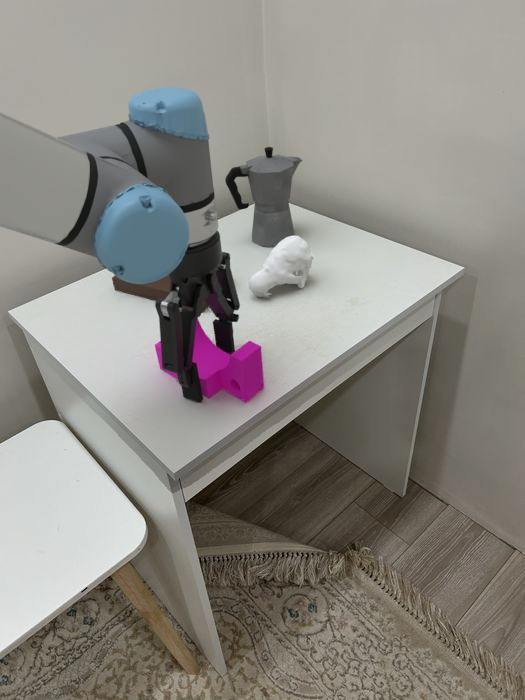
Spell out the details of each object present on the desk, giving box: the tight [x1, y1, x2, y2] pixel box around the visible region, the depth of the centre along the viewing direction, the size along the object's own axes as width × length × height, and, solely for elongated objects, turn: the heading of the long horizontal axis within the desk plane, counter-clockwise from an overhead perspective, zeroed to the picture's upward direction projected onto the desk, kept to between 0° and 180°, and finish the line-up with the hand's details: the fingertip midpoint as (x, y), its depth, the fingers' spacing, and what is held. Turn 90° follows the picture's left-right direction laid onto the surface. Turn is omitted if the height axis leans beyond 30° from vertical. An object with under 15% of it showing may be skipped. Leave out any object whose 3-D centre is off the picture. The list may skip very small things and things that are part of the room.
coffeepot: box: [224, 146, 303, 248], centre depth 104 cm, size 15×9×18 cm, turn 113°
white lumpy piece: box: [248, 235, 314, 298], centre depth 93 cm, size 6×8×12 cm
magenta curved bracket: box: [154, 317, 265, 404], centre depth 76 cm, size 15×6×8 cm, turn 49°
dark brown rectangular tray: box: [111, 275, 209, 313], centre depth 97 cm, size 19×10×3 cm, turn 63°
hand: (210, 377), depth 78 cm, fingers open, 9 cm apart
